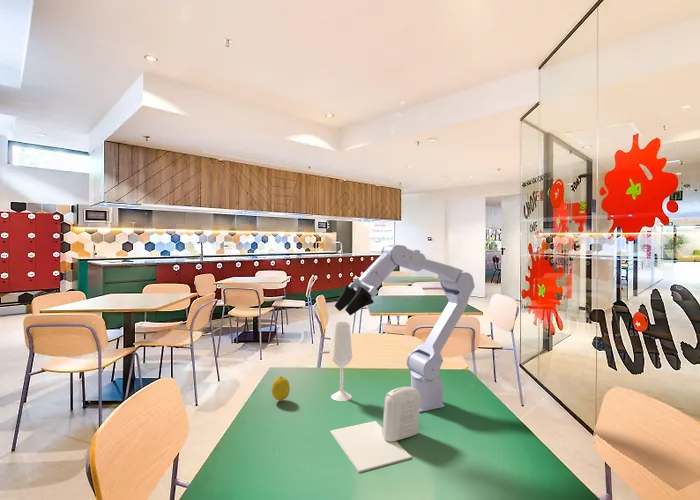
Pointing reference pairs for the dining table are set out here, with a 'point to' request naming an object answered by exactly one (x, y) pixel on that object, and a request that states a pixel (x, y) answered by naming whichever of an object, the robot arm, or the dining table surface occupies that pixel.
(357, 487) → the dining table surface
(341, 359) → the champagne flute
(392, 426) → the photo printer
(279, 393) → the lemon
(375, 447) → the mat
